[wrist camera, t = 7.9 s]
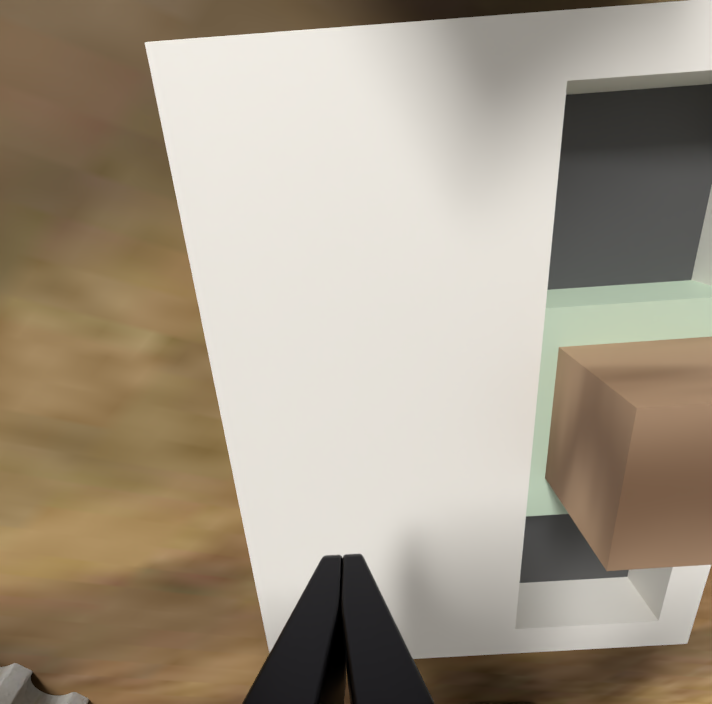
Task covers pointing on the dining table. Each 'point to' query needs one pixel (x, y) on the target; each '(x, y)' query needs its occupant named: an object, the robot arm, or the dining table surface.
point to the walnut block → (636, 450)
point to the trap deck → (441, 296)
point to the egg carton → (29, 689)
